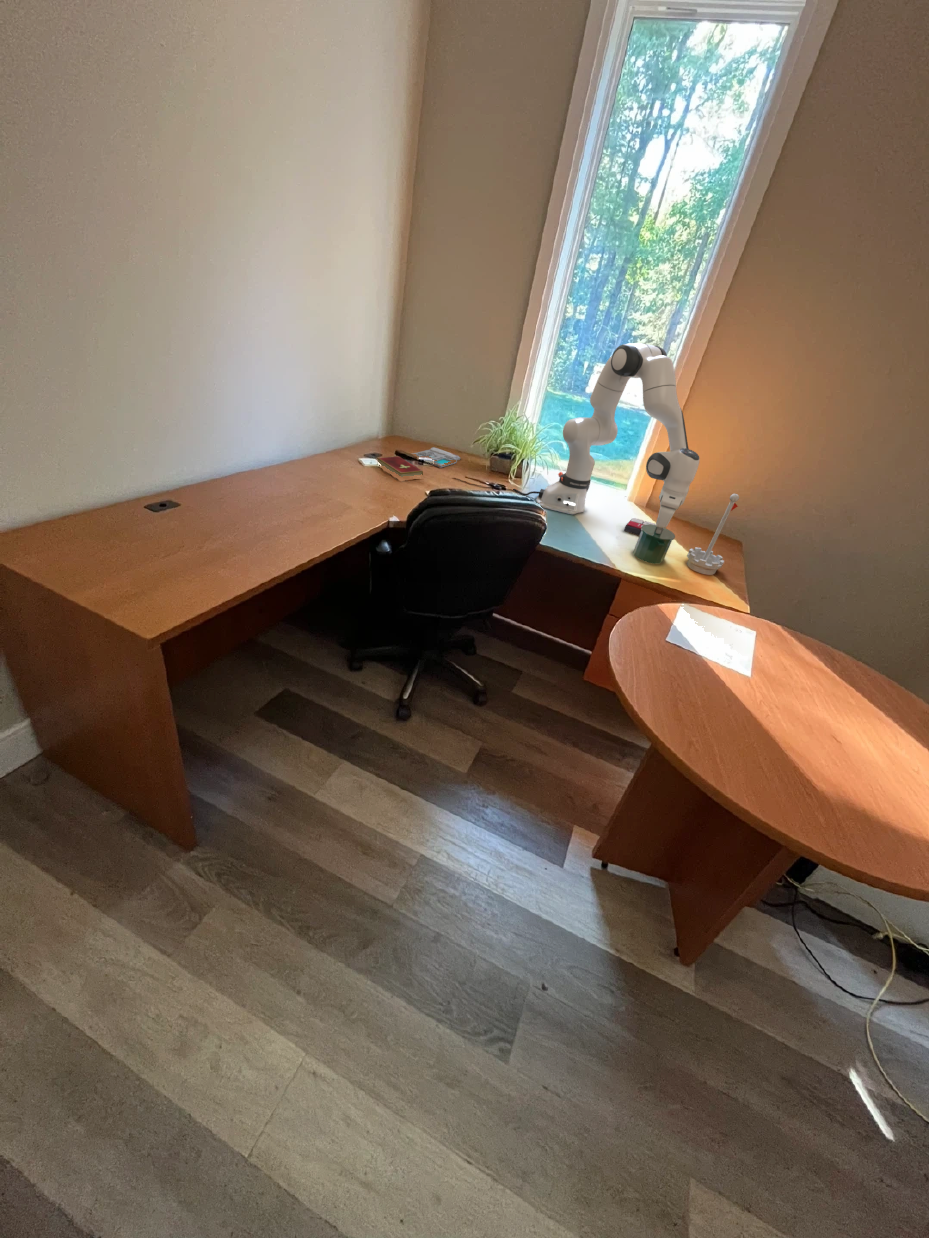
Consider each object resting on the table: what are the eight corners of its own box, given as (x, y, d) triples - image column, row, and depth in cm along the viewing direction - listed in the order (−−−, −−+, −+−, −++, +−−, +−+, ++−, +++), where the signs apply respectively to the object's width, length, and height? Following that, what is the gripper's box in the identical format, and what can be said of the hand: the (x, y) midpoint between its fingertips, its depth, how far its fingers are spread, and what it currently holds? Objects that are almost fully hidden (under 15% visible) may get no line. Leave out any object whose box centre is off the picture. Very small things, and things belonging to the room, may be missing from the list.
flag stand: (705, 578, 183) (742, 502, 166) (677, 561, 192) (709, 488, 175) (725, 573, 190) (763, 499, 173) (697, 557, 198) (730, 486, 181)
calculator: (632, 516, 215) (667, 526, 210) (629, 525, 218) (663, 535, 212) (626, 523, 207) (661, 533, 201) (623, 533, 209) (658, 543, 204)
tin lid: (644, 539, 180) (649, 526, 177) (637, 525, 190) (641, 512, 187) (678, 544, 180) (683, 531, 177) (668, 530, 191) (674, 518, 188)
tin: (637, 565, 184) (647, 540, 178) (628, 545, 198) (637, 521, 192) (667, 570, 184) (678, 545, 178) (656, 550, 198) (666, 526, 192)
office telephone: (435, 445, 264) (465, 456, 256) (434, 450, 266) (465, 460, 258) (408, 452, 247) (440, 463, 239) (407, 457, 249) (439, 468, 241)
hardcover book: (398, 463, 238) (398, 455, 236) (422, 479, 226) (423, 470, 224) (376, 466, 232) (376, 457, 229) (400, 481, 219) (401, 472, 217)
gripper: (666, 486, 186) (653, 520, 193) (660, 501, 170) (646, 537, 178) (683, 491, 184) (669, 524, 192) (679, 506, 168) (664, 542, 176)
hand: (658, 531), depth 185 cm, fingers open, 3 cm apart
